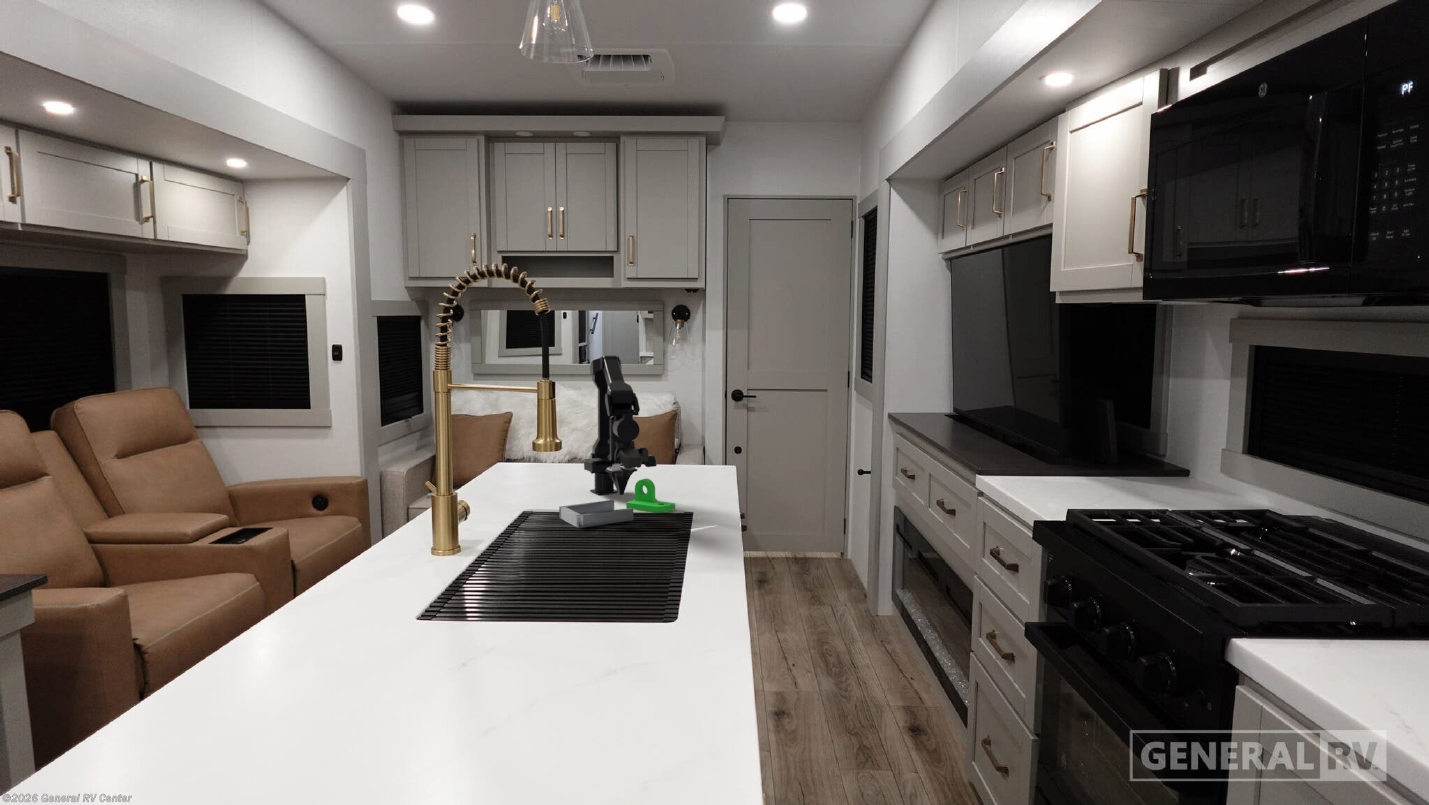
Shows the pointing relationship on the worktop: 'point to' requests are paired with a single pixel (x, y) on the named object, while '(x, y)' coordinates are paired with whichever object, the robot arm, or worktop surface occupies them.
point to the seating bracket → (594, 514)
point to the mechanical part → (648, 499)
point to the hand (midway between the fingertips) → (621, 495)
